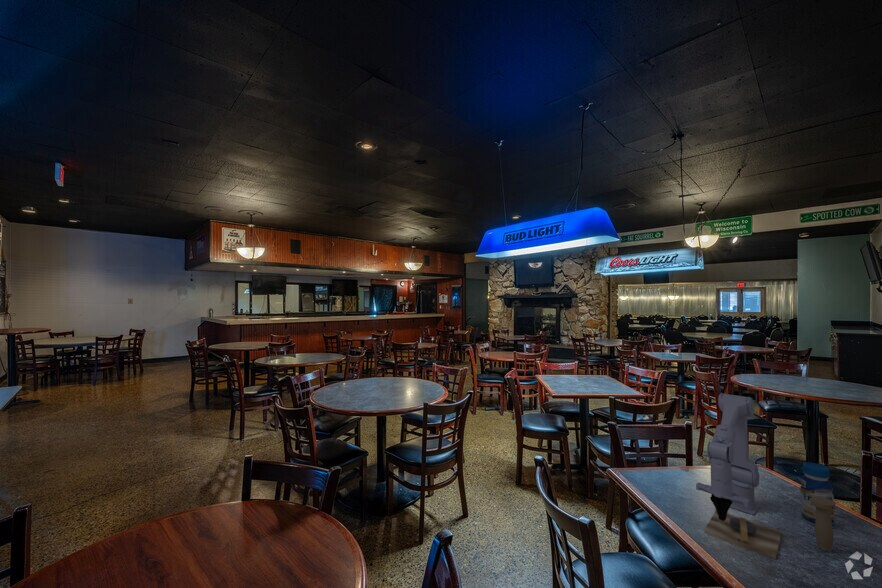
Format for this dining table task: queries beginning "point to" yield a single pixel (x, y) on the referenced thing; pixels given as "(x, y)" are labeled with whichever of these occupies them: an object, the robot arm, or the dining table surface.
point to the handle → (823, 522)
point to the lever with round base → (743, 527)
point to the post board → (759, 542)
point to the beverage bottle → (814, 490)
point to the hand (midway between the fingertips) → (722, 519)
